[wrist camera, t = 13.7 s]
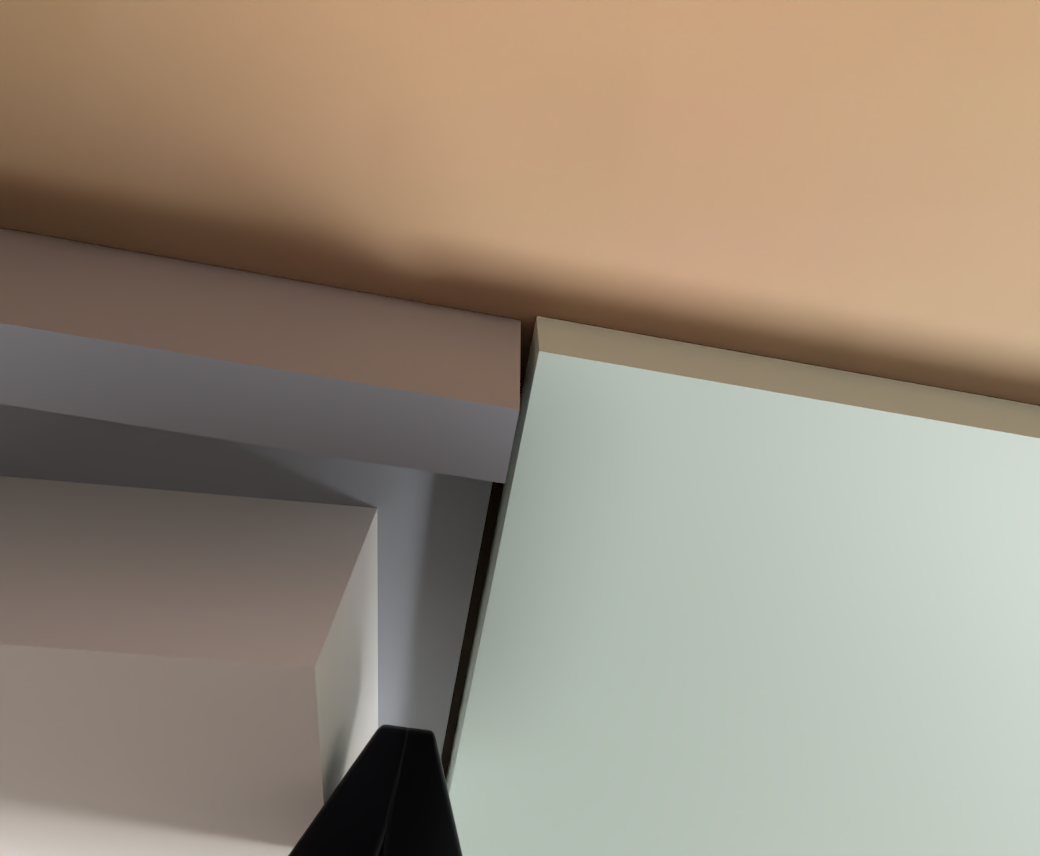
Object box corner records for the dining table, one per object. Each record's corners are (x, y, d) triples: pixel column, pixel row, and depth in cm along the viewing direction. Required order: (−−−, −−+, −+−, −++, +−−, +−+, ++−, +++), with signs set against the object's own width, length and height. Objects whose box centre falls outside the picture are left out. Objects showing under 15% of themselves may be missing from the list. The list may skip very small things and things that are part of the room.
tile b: (378, 773, 12) (334, 967, 9) (55, 751, 11) (-90, 942, 9) (377, 507, 9) (315, 667, 6) (-40, 472, 9) (-291, 622, 6)
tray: (395, 996, 16) (369, 1167, 14) (-12, 957, 16) (-124, 1130, 13) (520, 319, 8) (520, 409, 6) (-308, 173, 8) (-773, 193, 5)
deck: (825, 1039, 17) (851, 1115, 16) (402, 998, 16) (392, 1076, 15) (1323, 456, 9) (1461, 511, 8) (536, 315, 8) (539, 351, 7)
